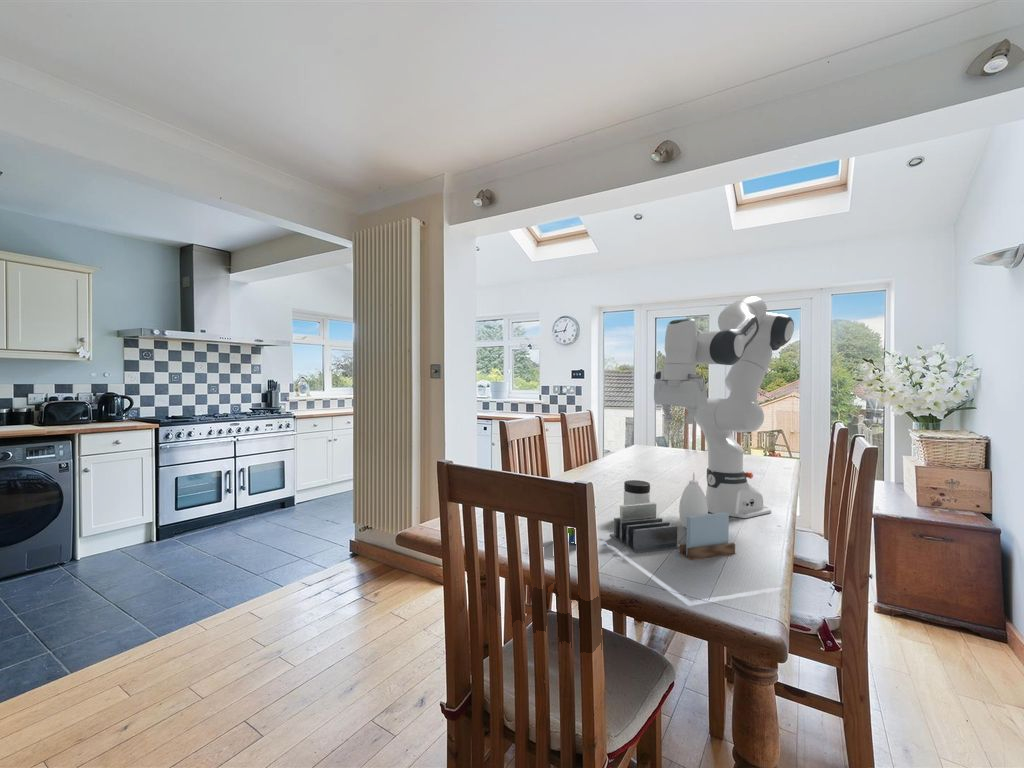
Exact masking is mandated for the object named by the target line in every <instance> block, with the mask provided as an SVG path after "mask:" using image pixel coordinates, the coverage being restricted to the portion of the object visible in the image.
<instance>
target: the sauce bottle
mask: <svg viewBox="0 0 1024 768" xmlns="http://www.w3.org/2000/svg"><path fill="white" fill-rule="evenodd" d="M705 496H706V494H705V493H704V490H703V489H702V487H701V486H700V484H699V481H698V480H696V479H695V472H693V474H692V479H691V480H689V481H688V484H687V485H686V486H685V488H684V489H683V491H682V494H681V497H680V500H679V506H678V511H679V512H678V513H679V518H680V522H681V524H682V526H683V528H686V529H687V516H694V515H704V514H709V512H708V508H707V502H706V498H705Z"/></svg>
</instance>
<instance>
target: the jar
mask: <svg viewBox="0 0 1024 768" xmlns="http://www.w3.org/2000/svg"><path fill="white" fill-rule="evenodd" d="M623 486H624V487H623V489H624V490H623V505H630V504H641V503H651V483H650V482H648V481H645V480H639V479H638V480H637V479H634V480H633V479H632V480H631V479H630V480H625V481H624V484H623Z"/></svg>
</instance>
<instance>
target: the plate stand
mask: <svg viewBox="0 0 1024 768" xmlns="http://www.w3.org/2000/svg"><path fill="white" fill-rule="evenodd" d="M679 545H680V548H679V552H678V553H679V554H680V555H682V556H684V557H685V558H687V559H689V560H690V561H693V560H702V559H708V558H715V557H722V556H730V555H737V553H736V543H734V542H728V543H725V544H717V545H709V546H701V547H693V548H687V555H686V543H685V542H684V543H680V544H679Z"/></svg>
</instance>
